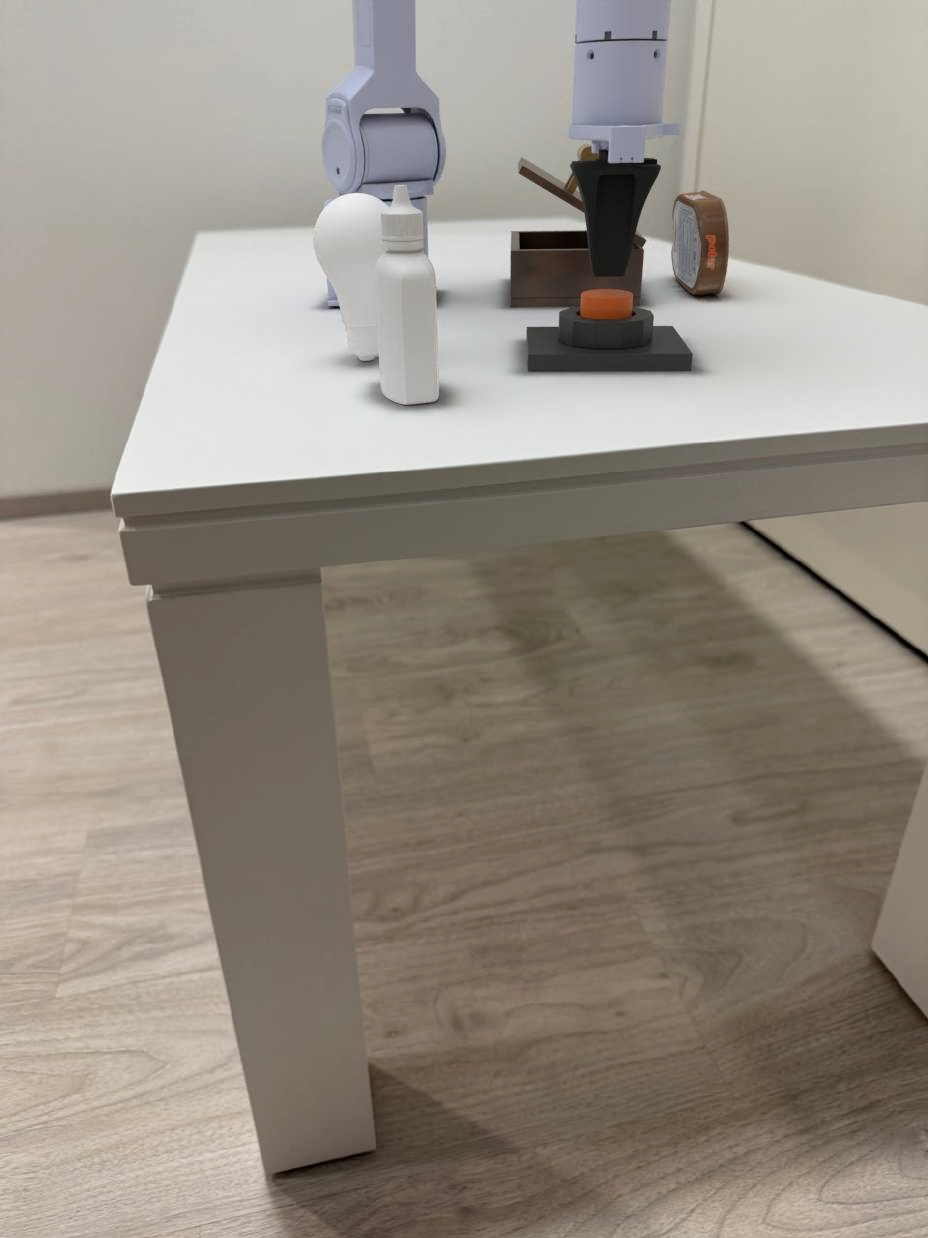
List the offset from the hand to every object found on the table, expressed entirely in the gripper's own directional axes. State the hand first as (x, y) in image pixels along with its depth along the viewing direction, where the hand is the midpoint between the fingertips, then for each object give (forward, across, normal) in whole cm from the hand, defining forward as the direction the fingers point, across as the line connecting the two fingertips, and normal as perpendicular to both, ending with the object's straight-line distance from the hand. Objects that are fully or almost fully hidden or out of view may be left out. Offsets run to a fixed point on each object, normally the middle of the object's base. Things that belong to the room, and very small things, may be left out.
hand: (608, 274), depth 64 cm
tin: (+6, +28, -11) cm, 31 cm away
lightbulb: (+6, -1, +17) cm, 18 cm away
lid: (-2, +26, +1) cm, 26 cm away
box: (+6, +26, +1) cm, 27 cm away
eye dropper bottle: (+6, -10, +13) cm, 17 cm away
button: (+3, 0, 0) cm, 3 cm away
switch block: (+6, 0, 0) cm, 6 cm away
